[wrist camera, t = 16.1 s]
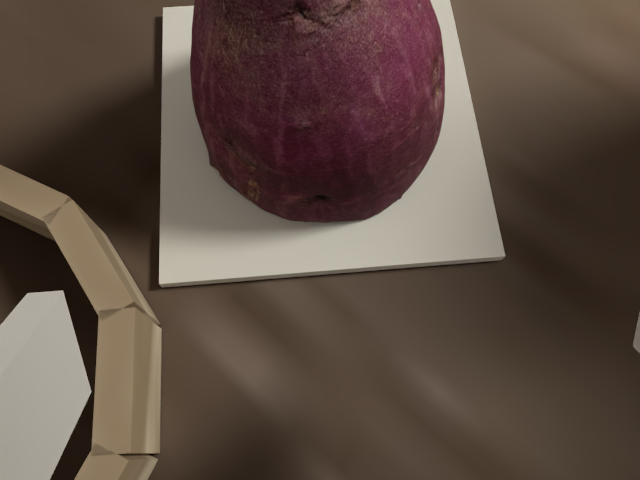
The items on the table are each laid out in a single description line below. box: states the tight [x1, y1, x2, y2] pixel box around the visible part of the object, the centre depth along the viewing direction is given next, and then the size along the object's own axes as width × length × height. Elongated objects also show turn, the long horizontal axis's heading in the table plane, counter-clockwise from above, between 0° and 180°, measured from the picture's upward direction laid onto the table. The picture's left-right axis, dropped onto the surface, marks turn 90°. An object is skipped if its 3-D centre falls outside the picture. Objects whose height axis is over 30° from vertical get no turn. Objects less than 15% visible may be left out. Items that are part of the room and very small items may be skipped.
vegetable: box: [190, 0, 445, 223], centre depth 19 cm, size 10×10×15 cm
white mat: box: [159, 0, 505, 288], centre depth 25 cm, size 14×14×1 cm
